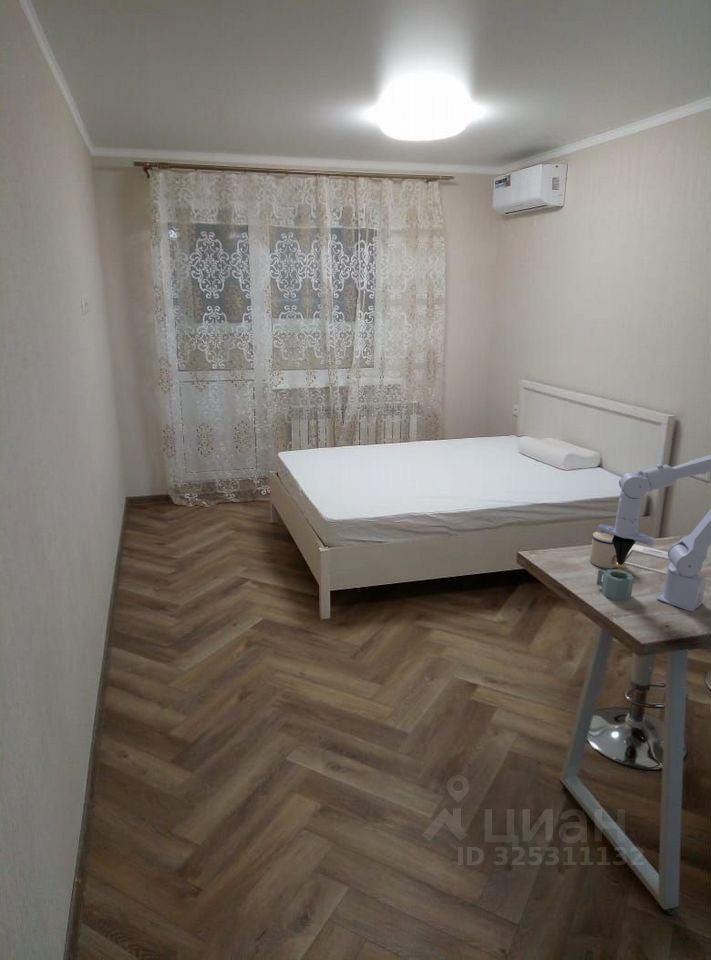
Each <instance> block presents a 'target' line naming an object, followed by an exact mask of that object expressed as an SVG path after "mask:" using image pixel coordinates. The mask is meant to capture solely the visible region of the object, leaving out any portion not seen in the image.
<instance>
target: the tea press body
mask: <svg viewBox="0 0 711 960" xmlns="http://www.w3.org/2000/svg"><path fill="white" fill-rule="evenodd" d="M597 572H598V573H597V579H596V585H598V586H601V589H600V590H601V591H600V592H601V593H602V594H603V596H604V597H606V598H608V599H609V600H610V599H611V600H613V601H628V600H630V599H631V598H632V591H633V585H634V579H635V577H634V576H633V574H631V573H630V572H627V571H624V570H622V569H621V574H620V577H622V578H624V579H618V578H615V577H613V576H617V575H618V569H613V568H608V569H607V570H604V569H601V568H600V569H598V571H597Z"/></svg>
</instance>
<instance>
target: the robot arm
mask: <svg viewBox="0 0 711 960" xmlns="http://www.w3.org/2000/svg"><path fill="white" fill-rule="evenodd" d="M706 473H711V453H710V454H708V455H705V456H702V457H699V458H697V459H693V460H690V461H688V462H687V461H686V462H685V463H681V464H678V465H676V466H671V465H669V464H662V463H657V464H656V467H651V468H648V469H644V470H642V469H639V470H637V472H634V471H631V472H627V473H625V474H624V475H622V476H621V478H620V479H619V480H618V485H619V487H620V489H621V490H620V495H619V499H618V505H617V512H616V519H615V525H613V526H612V525H606V524H599V525H597V531H596V532H598V533H605V534H609V535H613V536H614V537H613V539H612V543H613V545H614V547H615V551H616V555H617V563H619V564H623V563H624V562H626V559H627V557H628V556H629V555H628V553H629V551H630V549H631V548H632V546H633V545H634V544H635V545H636V543H640V544H643V545H646V546H648V547H652V546H653V545H654V541H655V537H653V536H650V535H647V534H644V533H642V532H639V531H638V528H639V523H640V516H641V510H642V501H643V497H644V496H645V495H646V494H647V493H648V492H651V491H656V490H659V489H663V488H667V487H670V486H673V485H674V484H676V481H678V480H679V479H684V478H688V477H693V476H697V475H702V474H706ZM710 545H711V509H709V511H708V512H707V513H706V514H705V516H703V518H702V519H701V520H700V521H699V523H698V524H697V525H696V526H695V528H694V529H693V530H692V532H691V533H690V534H689V535H685V536H682V537H681V538H680V540H679V541H677V542H676V543H674V544H672V545H670V547H669V548H668V550H667V552H668V557H669V559H670V560H669V561H670V563H669V564H668V566H667V571H666V572H667V575H666V577H665V582H664V589H663V593H662V594H660V595H658V596H657V598H656V600H658V601H661V602H664V603H667V604H669V605H672V606H675V607H678V608H681V609H684V610H686V611H688V612H694V611H695V610H696V609H697V608H698V607H700V606H701V605H702V604H703V603H704V602H703V600H704V593H705V588H706V585H707V584H706V583H707V581H706V580H707V579H706V578H705V577H703V576H701V575H700V574H699V573H700V572H701V570H702V568H703V563H704V561H705V560H706V559H707V557H708V548H709V547H710ZM627 555H628V556H627Z"/></svg>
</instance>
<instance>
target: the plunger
mask: <svg viewBox="0 0 711 960" xmlns="http://www.w3.org/2000/svg"><path fill="white" fill-rule="evenodd" d="M615 566H616V569H617V568H618V569H617V570H618V575H617V576H613V577H615V578H618V579H624V578H622V577H620V574H621V570H622V569H625V568H626V563H623V564H619V563H617V562H616V564H615Z"/></svg>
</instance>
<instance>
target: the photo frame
mask: <svg viewBox="0 0 711 960" xmlns="http://www.w3.org/2000/svg"><path fill="white" fill-rule="evenodd" d="M632 552H636V553H639V554H644V555H648V556H651V557H655V558H659V559H660V558H661V559H665V560H669V561H671V560H670V559H669V557H668V551H664V550H661V549H656V548H651V547H649V546H648V547H647V546H645V545H639V544H636V543H635V544H634V545H633V546H632V548H631V549H630V551H629V553H628V555H627V557H628V556H629V555H630V554H631V553H632ZM624 563H626V565H627V566H631V567H635V568H639V569H642V570H647V571H651V572H654V573H659V574H662V575H666V576H667V571H664V570H659V569H656V568H652V567H646V566H643V565H640V564H636V563H631V562H627V561H625V562H624Z"/></svg>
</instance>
